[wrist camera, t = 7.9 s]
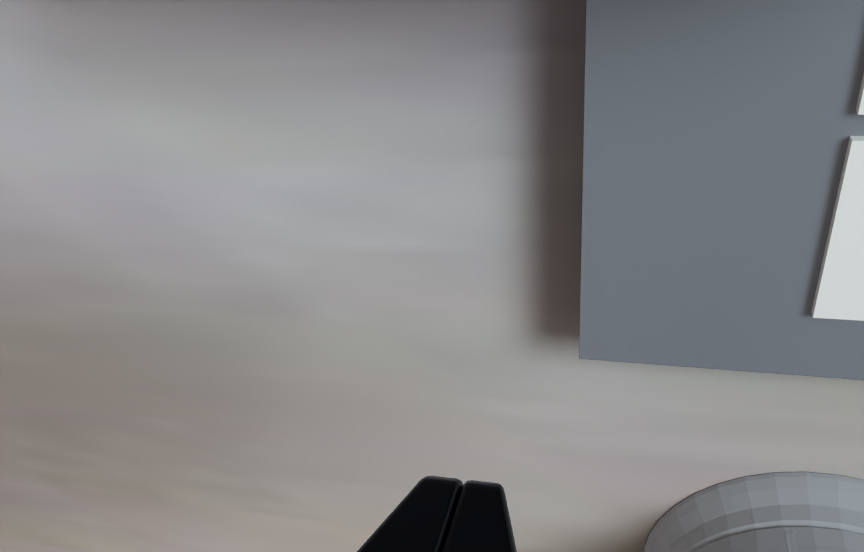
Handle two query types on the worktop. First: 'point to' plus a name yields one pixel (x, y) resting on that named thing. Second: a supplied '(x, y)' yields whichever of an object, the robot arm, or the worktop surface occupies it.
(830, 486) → the grey rounded piece
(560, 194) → the worktop surface
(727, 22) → the label board
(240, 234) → the worktop surface
